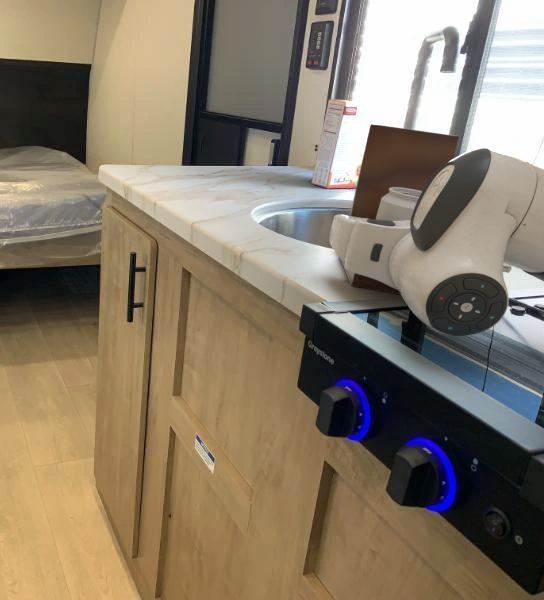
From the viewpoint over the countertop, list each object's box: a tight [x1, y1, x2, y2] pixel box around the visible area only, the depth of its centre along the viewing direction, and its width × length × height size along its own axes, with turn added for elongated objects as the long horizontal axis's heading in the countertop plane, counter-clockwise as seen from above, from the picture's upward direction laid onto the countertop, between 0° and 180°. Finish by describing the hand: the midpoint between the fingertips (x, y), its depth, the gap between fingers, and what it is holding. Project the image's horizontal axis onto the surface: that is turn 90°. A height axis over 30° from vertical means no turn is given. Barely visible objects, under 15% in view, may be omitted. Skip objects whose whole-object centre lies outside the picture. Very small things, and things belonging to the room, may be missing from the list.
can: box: [376, 187, 422, 221], centre depth 83 cm, size 8×8×12 cm
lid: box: [349, 124, 460, 220], centre depth 90 cm, size 14×12×5 cm
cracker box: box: [310, 98, 384, 189], centre depth 150 cm, size 14×6×21 cm, turn 122°
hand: (400, 229), depth 84 cm, fingers closed on can, 7 cm apart
